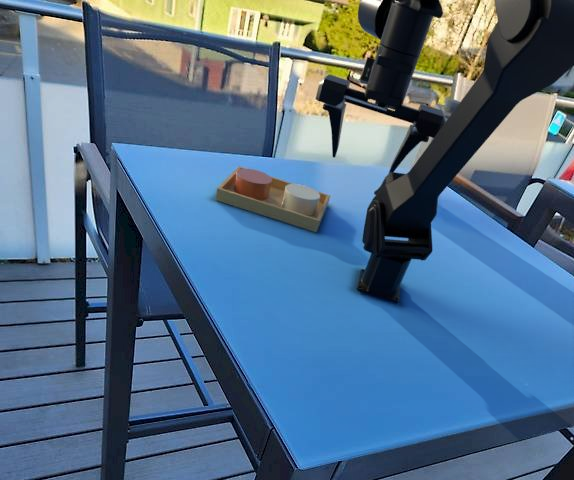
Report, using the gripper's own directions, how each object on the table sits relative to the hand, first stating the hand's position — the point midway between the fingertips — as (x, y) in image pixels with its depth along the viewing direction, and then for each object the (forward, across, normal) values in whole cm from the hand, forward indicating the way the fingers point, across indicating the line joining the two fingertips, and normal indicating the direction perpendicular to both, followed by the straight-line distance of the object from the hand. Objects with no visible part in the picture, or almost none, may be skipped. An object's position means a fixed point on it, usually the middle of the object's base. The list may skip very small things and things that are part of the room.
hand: (361, 165), depth 77 cm
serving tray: (+12, +13, -5) cm, 18 cm away
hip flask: (+12, -13, -31) cm, 36 cm away
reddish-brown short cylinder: (+11, +18, -5) cm, 21 cm away
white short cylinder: (+11, +8, -5) cm, 15 cm away
